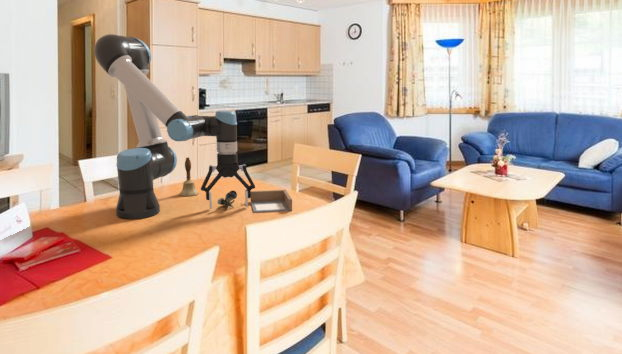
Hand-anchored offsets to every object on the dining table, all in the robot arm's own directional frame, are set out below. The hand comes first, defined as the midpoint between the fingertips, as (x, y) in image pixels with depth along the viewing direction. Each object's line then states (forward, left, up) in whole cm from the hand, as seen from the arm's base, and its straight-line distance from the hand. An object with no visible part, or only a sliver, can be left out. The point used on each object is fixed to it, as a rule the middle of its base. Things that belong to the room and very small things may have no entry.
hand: (228, 207), depth 167 cm
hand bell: (-16, +26, -1) cm, 31 cm away
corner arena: (+16, +1, -1) cm, 16 cm away
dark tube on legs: (0, +2, -1) cm, 2 cm away
